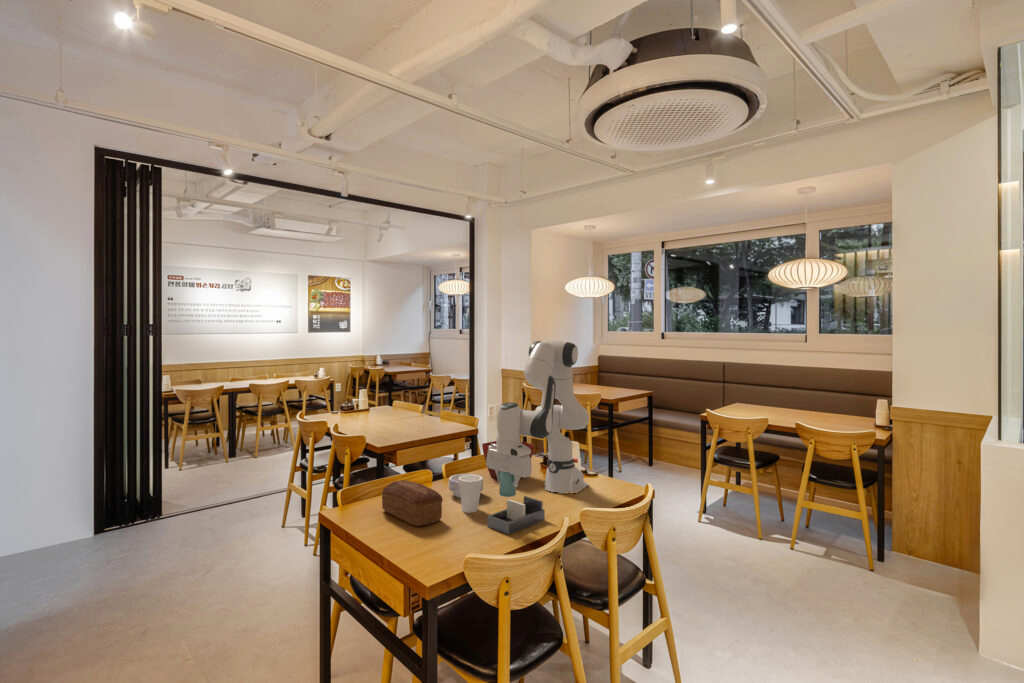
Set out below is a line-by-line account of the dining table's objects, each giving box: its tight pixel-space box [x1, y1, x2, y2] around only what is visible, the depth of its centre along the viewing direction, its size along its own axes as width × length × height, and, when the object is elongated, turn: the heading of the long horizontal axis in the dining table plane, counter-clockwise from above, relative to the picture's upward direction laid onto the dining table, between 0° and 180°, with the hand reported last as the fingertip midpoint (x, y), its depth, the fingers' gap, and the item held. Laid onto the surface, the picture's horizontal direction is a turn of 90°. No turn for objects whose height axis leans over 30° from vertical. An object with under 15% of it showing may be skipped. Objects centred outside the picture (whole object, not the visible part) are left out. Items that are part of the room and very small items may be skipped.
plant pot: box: [481, 440, 535, 480], centre depth 245 cm, size 19×19×17 cm
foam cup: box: [459, 474, 483, 514], centre depth 198 cm, size 10×9×13 cm
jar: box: [499, 467, 517, 498], centre depth 181 cm, size 6×6×10 cm
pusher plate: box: [506, 499, 525, 520], centre depth 184 cm, size 1×8×7 cm, turn 46°
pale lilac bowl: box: [448, 473, 484, 499], centre depth 216 cm, size 15×15×8 cm
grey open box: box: [486, 495, 546, 536], centre depth 185 cm, size 20×11×7 cm, turn 137°
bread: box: [381, 479, 443, 527], centre depth 191 cm, size 14×28×12 cm, turn 45°
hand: (507, 484), depth 181 cm, fingers closed on jar, 6 cm apart
